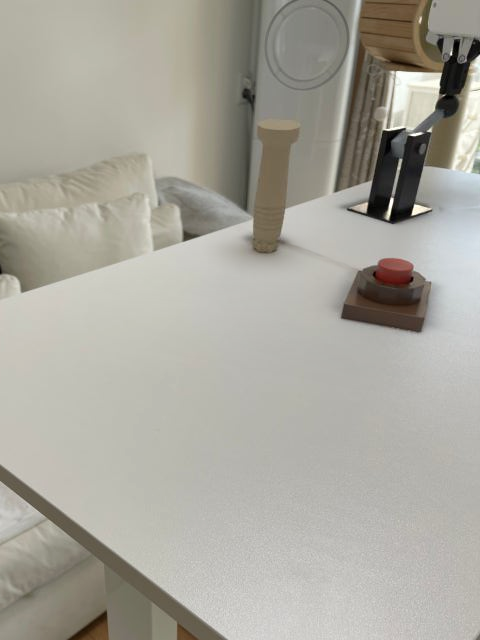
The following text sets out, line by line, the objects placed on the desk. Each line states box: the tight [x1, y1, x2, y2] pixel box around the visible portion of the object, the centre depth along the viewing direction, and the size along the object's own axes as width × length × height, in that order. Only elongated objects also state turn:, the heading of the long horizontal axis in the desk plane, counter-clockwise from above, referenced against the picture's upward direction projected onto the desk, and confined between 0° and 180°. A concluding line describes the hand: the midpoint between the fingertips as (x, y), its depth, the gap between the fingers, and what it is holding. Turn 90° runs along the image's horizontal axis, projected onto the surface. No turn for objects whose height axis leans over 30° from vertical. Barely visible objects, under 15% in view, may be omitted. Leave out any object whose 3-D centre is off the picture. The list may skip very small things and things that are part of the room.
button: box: [375, 257, 415, 285], centre depth 68 cm, size 4×4×2 cm
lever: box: [391, 94, 460, 160], centre depth 92 cm, size 13×3×3 cm, turn 128°
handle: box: [252, 118, 301, 254], centre depth 80 cm, size 5×6×15 cm
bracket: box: [346, 126, 433, 225], centre depth 93 cm, size 10×8×12 cm
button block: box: [340, 264, 432, 333], centre depth 69 cm, size 10×8×4 cm
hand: (449, 93), depth 92 cm, fingers closed
